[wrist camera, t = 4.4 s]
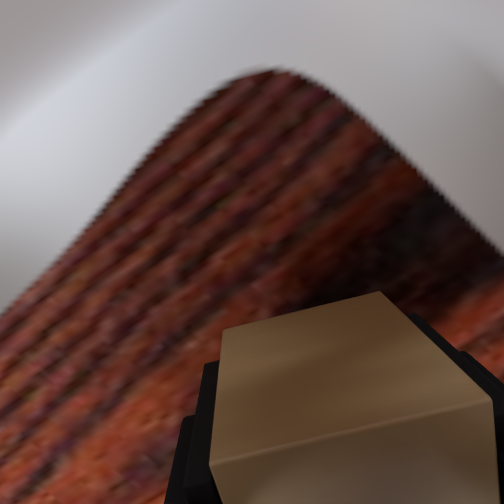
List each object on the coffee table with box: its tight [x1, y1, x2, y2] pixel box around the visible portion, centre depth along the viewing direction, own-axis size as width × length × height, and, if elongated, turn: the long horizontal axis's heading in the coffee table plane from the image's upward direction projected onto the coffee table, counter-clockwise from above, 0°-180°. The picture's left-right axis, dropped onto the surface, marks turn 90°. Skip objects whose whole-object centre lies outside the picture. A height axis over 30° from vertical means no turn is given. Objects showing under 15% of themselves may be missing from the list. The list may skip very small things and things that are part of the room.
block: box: [209, 291, 501, 504], centre depth 8 cm, size 4×4×4 cm
